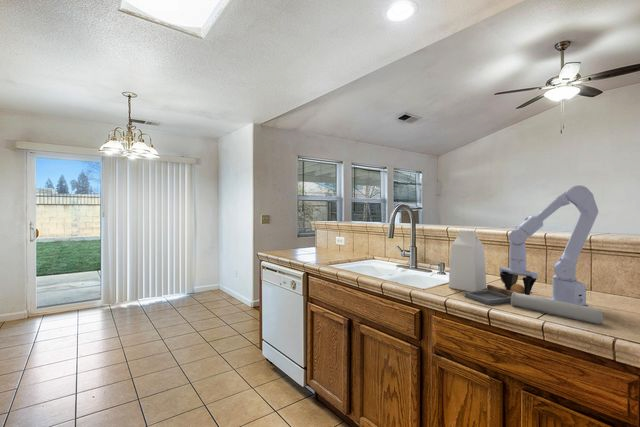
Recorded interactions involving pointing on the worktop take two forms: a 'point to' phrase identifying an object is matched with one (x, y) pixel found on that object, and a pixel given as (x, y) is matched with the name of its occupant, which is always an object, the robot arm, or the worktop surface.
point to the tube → (557, 308)
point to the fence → (499, 290)
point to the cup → (514, 279)
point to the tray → (488, 297)
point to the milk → (467, 263)
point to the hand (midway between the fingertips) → (517, 292)
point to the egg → (517, 288)
